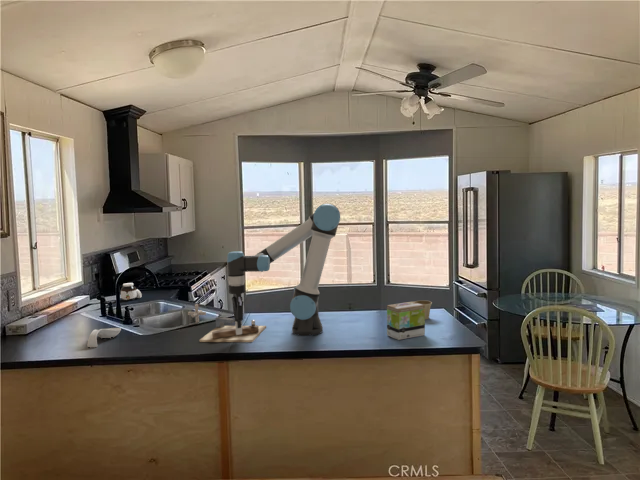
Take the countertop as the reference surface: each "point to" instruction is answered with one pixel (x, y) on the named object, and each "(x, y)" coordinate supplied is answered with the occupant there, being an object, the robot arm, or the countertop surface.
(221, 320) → the keeper bracket
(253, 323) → the pintle
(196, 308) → the pipe connector
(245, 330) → the brown streaked bar
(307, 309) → the robot arm
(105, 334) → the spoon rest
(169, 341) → the countertop surface
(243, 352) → the countertop surface
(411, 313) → the tea box
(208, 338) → the maple board
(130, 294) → the spread jar
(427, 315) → the flower pot
